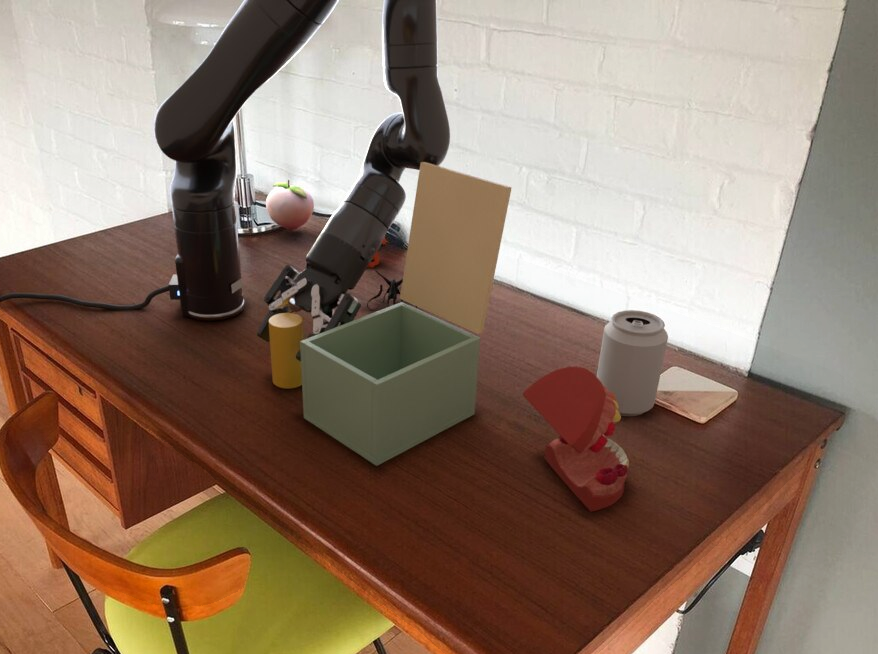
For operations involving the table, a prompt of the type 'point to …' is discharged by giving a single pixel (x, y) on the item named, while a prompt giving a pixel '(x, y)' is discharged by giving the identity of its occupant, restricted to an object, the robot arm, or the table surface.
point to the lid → (454, 245)
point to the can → (632, 359)
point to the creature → (389, 291)
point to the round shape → (286, 349)
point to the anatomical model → (582, 434)
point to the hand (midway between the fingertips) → (281, 350)
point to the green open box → (389, 380)
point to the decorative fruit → (289, 205)
